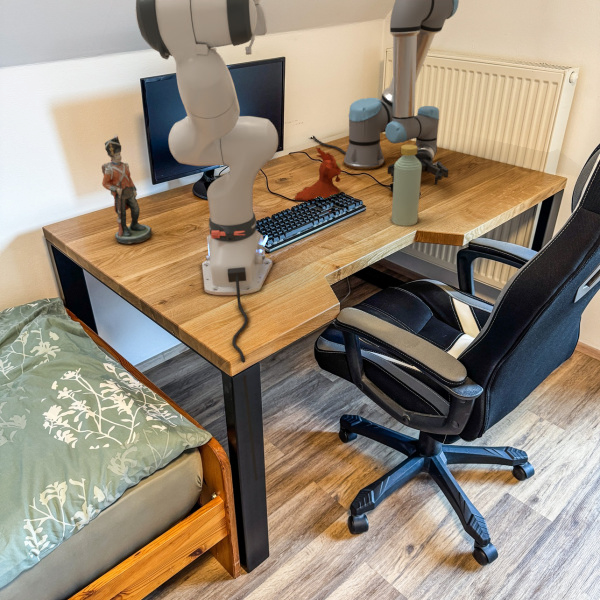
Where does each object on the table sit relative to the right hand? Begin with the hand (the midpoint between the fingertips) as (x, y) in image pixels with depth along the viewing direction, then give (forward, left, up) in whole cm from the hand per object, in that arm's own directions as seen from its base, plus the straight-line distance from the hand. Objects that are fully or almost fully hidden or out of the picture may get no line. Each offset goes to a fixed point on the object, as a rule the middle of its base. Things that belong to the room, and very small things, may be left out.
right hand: (414, 179), depth 183 cm
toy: (-10, -30, -6) cm, 33 cm away
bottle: (+17, -8, -6) cm, 19 cm away
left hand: (+5, -55, +42) cm, 69 cm away
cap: (+17, -8, +16) cm, 24 cm away
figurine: (+11, -90, -6) cm, 91 cm away
